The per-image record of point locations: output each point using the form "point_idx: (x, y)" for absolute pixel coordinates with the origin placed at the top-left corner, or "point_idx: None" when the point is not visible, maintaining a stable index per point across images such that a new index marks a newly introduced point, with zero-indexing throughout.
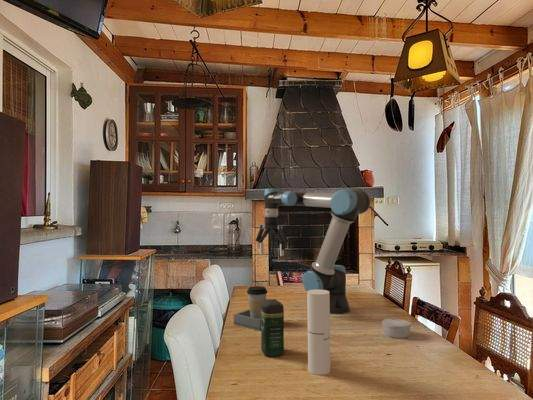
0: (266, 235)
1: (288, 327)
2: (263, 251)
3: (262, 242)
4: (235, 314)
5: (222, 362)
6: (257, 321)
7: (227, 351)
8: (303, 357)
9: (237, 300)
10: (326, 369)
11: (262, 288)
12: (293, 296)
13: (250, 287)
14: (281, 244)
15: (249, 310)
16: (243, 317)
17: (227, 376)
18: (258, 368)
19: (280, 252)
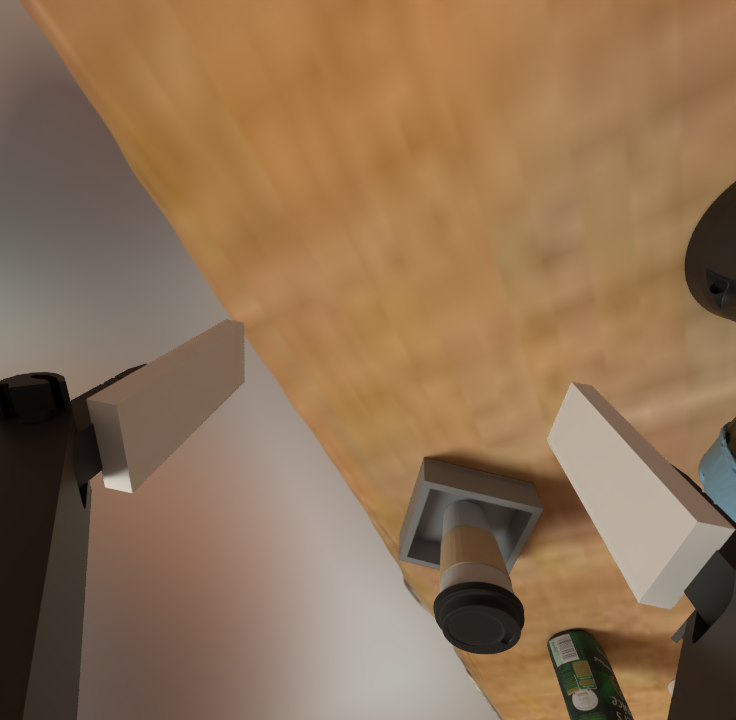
0: (41, 627)
1: (575, 517)
2: (226, 336)
3: (105, 420)
4: (404, 560)
5: (492, 685)
6: None
7: (477, 654)
8: (652, 654)
9: (229, 280)
10: None
11: (507, 632)
12: (466, 21)
13: (446, 626)
14: (671, 589)
15: (421, 510)
16: (438, 567)
17: (525, 714)
18: None
19: (573, 473)
